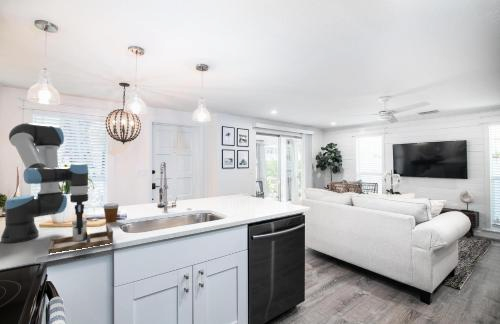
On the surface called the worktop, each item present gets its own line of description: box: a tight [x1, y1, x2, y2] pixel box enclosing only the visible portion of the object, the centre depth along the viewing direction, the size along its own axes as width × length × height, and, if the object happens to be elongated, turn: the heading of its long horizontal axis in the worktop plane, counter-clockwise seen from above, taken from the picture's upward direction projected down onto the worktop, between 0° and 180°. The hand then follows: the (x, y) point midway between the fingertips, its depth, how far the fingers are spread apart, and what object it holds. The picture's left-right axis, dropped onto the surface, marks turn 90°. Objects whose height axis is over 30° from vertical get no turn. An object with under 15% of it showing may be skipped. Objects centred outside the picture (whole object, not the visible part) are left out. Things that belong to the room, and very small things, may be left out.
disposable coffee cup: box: [103, 202, 119, 224], centre depth 170 cm, size 10×10×12 cm
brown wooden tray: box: [47, 223, 114, 255], centre depth 126 cm, size 26×17×7 cm, turn 125°
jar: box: [71, 218, 88, 242], centre depth 125 cm, size 6×6×10 cm
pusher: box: [87, 226, 91, 242], centre depth 128 cm, size 1×14×6 cm, turn 35°
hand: (79, 238), depth 125 cm, fingers closed on jar, 6 cm apart
